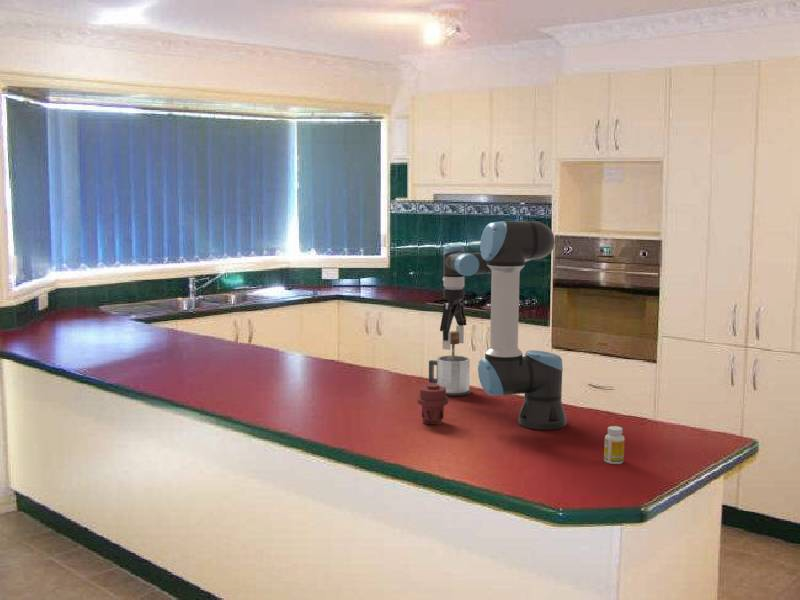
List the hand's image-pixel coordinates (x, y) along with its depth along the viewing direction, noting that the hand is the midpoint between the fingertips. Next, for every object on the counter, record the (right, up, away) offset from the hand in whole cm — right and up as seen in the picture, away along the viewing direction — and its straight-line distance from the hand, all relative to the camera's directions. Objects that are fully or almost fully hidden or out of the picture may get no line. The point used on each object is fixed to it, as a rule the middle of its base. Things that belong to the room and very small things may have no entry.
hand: (453, 346), depth 324 cm
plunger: (0, -16, +2) cm, 16 cm away
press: (-1, -17, +3) cm, 17 cm away
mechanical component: (-9, -23, -37) cm, 45 cm away
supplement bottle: (+40, -28, -76) cm, 90 cm away
